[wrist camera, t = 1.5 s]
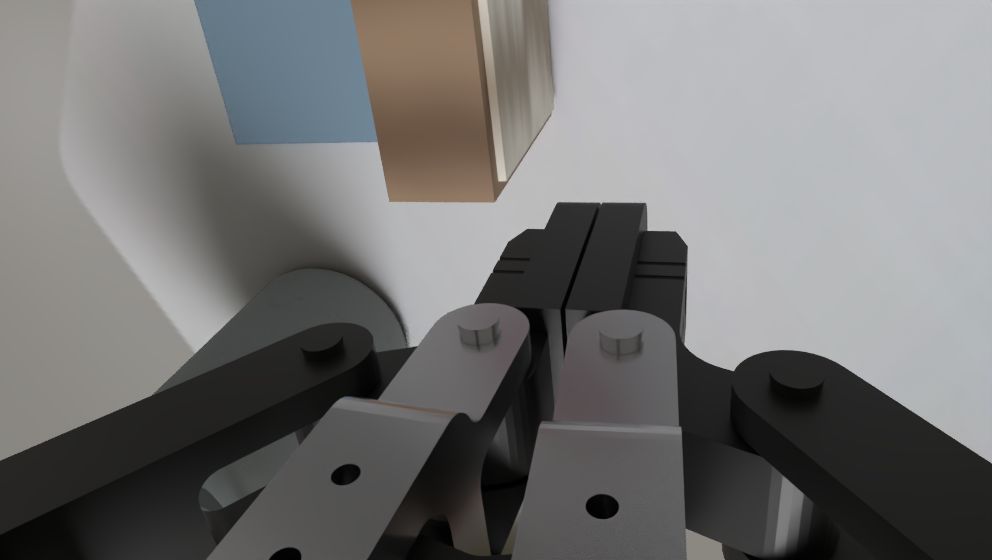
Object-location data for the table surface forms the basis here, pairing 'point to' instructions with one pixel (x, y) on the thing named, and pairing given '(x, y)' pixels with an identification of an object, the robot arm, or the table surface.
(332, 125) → the rubber mat
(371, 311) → the water bottle
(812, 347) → the table surface
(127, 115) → the table surface
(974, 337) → the table surface
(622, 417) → the robot arm
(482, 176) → the wooden block
